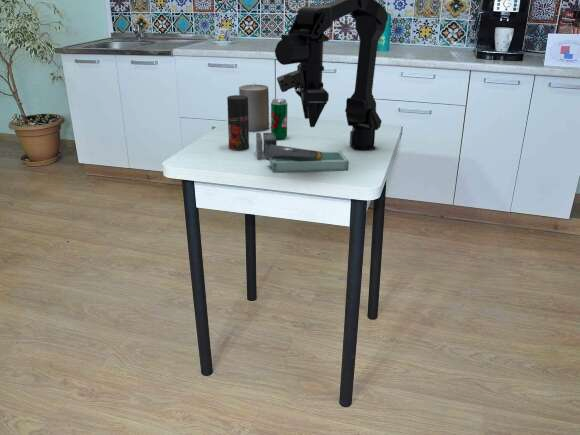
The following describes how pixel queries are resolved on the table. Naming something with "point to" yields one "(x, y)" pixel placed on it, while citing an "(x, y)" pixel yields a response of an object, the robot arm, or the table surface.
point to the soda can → (279, 118)
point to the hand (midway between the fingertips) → (309, 122)
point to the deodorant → (238, 122)
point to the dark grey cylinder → (293, 153)
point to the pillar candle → (257, 106)
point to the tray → (312, 163)
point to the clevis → (264, 144)
